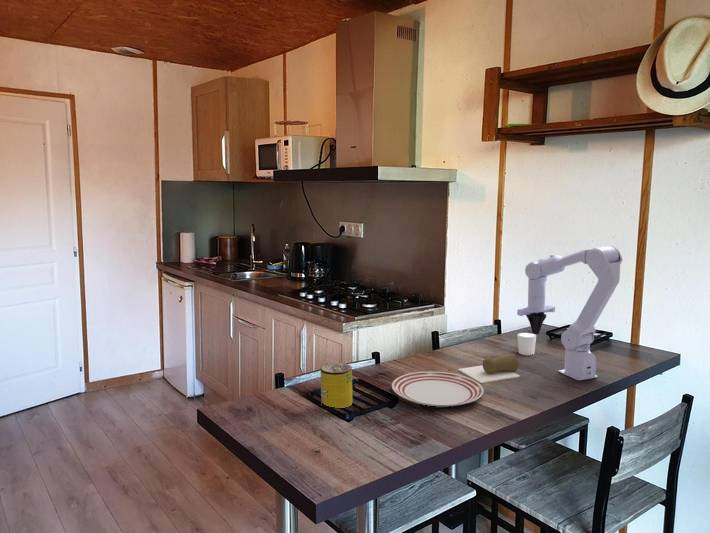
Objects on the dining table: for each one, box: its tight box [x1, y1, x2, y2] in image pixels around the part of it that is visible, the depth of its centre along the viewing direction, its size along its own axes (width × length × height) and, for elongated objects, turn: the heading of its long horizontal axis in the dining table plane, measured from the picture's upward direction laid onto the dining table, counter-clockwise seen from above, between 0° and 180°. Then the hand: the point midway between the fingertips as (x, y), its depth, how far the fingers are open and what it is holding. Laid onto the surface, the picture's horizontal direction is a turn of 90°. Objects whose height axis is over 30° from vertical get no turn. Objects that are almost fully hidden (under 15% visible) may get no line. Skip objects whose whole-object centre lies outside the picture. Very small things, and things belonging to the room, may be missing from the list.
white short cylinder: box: [517, 332, 537, 356], centre depth 206 cm, size 7×7×7 cm
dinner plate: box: [391, 371, 484, 408], centre depth 166 cm, size 27×27×3 cm
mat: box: [457, 364, 521, 385], centre depth 184 cm, size 14×15×1 cm
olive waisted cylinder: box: [482, 353, 519, 374], centre depth 184 cm, size 6×6×11 cm
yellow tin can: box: [320, 362, 354, 408], centre depth 158 cm, size 9×9×12 cm
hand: (535, 333), depth 194 cm, fingers closed
